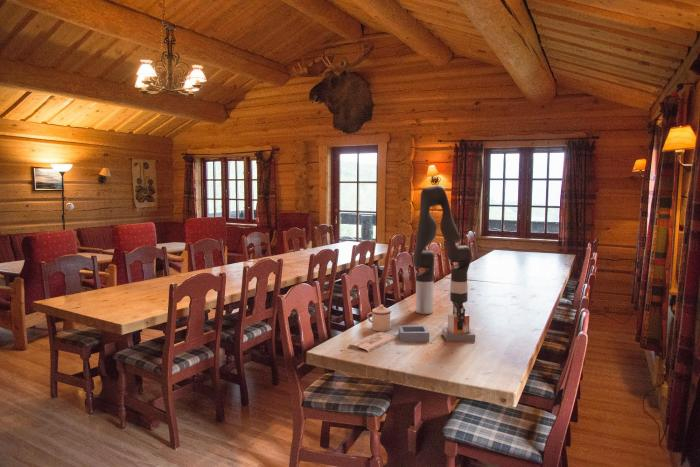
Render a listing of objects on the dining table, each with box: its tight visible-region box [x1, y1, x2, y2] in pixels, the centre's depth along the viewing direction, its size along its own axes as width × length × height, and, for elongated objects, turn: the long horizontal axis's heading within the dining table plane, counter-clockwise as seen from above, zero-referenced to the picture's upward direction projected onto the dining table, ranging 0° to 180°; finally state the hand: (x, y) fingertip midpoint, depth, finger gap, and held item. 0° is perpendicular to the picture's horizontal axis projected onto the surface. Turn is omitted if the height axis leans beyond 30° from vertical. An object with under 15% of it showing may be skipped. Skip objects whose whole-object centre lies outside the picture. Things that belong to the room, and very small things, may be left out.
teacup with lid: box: [366, 304, 392, 332], centre depth 225 cm, size 12×9×12 cm
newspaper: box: [348, 331, 398, 353], centre depth 206 cm, size 23×12×2 cm, turn 141°
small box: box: [447, 313, 470, 334], centre depth 211 cm, size 8×6×10 cm
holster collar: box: [441, 326, 476, 342], centre depth 211 cm, size 10×12×3 cm
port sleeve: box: [398, 325, 430, 343], centre depth 211 cm, size 10×12×4 cm
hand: (458, 327), depth 211 cm, fingers closed on small box, 6 cm apart
